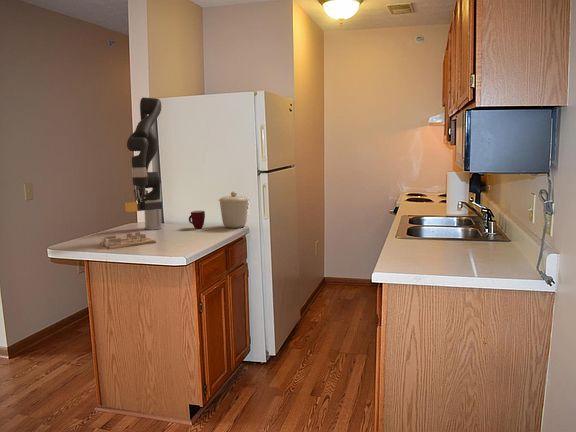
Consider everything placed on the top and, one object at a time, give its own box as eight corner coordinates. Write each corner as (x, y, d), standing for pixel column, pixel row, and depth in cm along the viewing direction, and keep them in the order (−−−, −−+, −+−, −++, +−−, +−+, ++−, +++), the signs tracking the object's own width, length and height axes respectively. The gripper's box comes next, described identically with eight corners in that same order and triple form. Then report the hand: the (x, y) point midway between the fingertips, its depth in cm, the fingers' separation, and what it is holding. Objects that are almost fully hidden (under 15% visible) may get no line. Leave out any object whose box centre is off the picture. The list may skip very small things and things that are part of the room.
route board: (100, 243, 253) (99, 235, 253) (144, 238, 267) (143, 229, 266) (110, 249, 241) (109, 239, 240) (156, 242, 254) (155, 234, 254)
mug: (185, 229, 294) (184, 212, 292) (192, 226, 301) (191, 210, 300) (201, 229, 290) (200, 212, 289) (207, 227, 298) (207, 210, 296)
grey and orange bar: (129, 212, 258) (128, 203, 257) (125, 211, 261) (125, 202, 261) (162, 208, 269) (162, 200, 268) (158, 208, 272) (158, 199, 272)
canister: (245, 229, 289) (244, 193, 286) (215, 229, 293) (213, 192, 290) (253, 224, 307) (252, 190, 303) (225, 223, 310) (224, 189, 307)
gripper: (127, 176, 265) (129, 208, 267) (137, 176, 254) (140, 210, 256) (141, 175, 270) (143, 207, 272) (152, 176, 259) (154, 209, 261)
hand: (141, 208), depth 264 cm, fingers closed on grey and orange bar, 3 cm apart
